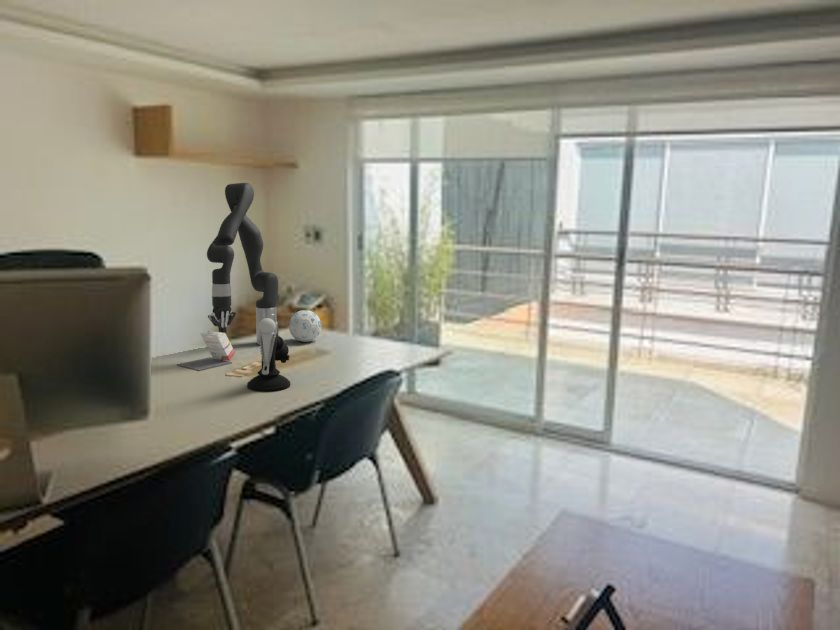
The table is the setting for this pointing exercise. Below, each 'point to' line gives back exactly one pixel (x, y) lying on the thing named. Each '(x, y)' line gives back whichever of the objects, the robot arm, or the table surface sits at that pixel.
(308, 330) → the puzzle ball
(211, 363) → the rubber mat
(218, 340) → the ink cartridge box
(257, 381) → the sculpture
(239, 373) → the beech turner
